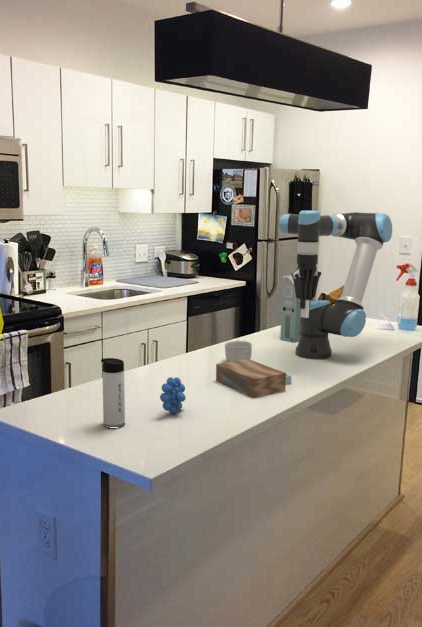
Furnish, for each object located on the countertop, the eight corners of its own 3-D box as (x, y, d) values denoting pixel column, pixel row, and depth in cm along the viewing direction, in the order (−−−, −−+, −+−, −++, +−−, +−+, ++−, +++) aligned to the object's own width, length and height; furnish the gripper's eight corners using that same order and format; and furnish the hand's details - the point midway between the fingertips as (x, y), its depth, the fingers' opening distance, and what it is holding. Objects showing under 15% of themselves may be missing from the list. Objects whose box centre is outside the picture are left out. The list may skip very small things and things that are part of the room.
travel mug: (103, 421, 186) (101, 356, 182) (125, 420, 186) (124, 356, 182) (101, 428, 180) (100, 362, 176) (124, 428, 180) (123, 361, 176)
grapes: (172, 421, 186) (172, 383, 184) (155, 417, 190) (154, 379, 187) (195, 410, 195) (195, 374, 193) (177, 406, 199) (178, 370, 197)
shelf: (246, 375, 234) (246, 358, 233) (285, 390, 216) (285, 373, 215) (216, 381, 226) (216, 363, 225) (253, 398, 208) (254, 379, 207)
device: (294, 342, 285) (296, 277, 280) (280, 340, 290) (282, 276, 284) (312, 336, 298) (315, 274, 292) (299, 334, 303) (301, 273, 297)
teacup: (249, 367, 245) (249, 347, 243) (222, 365, 247) (222, 345, 246) (254, 358, 258) (254, 339, 257) (228, 356, 261) (228, 337, 259)
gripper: (313, 251, 233) (310, 313, 237) (287, 253, 226) (284, 317, 230) (327, 253, 227) (324, 317, 231) (301, 255, 220) (298, 320, 224)
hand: (304, 317), depth 231 cm, fingers closed
